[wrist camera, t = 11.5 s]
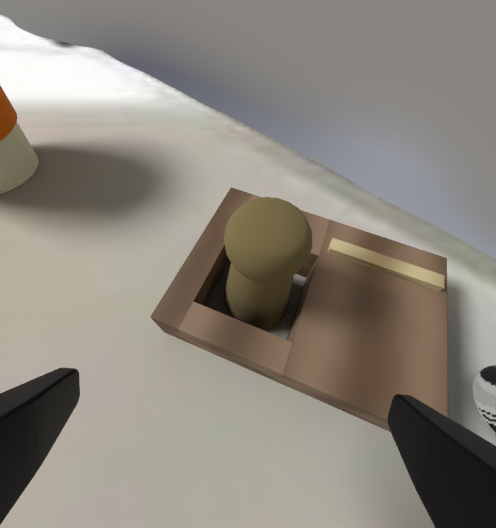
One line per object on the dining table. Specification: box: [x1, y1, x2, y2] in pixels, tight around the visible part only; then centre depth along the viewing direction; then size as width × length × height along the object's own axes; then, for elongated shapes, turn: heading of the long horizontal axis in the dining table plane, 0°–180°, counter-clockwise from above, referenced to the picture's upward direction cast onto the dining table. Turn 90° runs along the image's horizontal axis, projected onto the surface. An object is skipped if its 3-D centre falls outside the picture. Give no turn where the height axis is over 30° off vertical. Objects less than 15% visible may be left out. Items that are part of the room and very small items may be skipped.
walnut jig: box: [151, 188, 448, 432], centre depth 21 cm, size 20×14×5 cm
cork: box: [223, 197, 312, 330], centre depth 18 cm, size 6×6×11 cm
